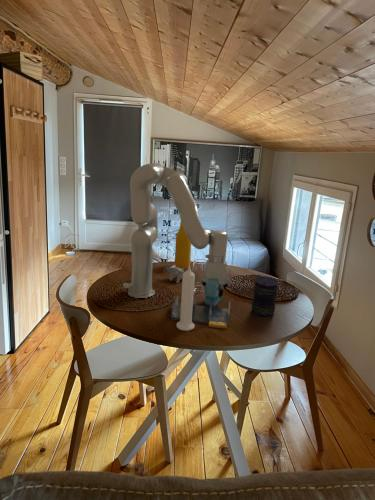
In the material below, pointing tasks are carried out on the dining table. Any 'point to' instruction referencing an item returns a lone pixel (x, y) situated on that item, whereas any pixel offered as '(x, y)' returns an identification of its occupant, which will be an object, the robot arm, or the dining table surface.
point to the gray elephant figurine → (175, 272)
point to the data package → (212, 292)
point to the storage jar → (264, 297)
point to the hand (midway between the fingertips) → (213, 295)
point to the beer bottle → (182, 249)
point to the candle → (187, 301)
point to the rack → (204, 314)
